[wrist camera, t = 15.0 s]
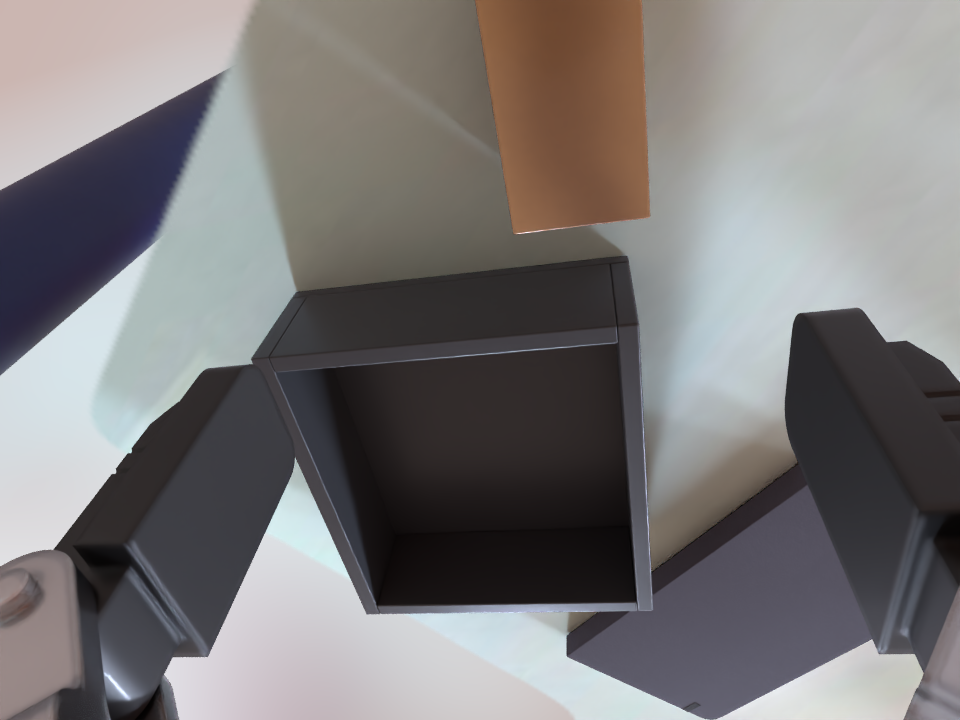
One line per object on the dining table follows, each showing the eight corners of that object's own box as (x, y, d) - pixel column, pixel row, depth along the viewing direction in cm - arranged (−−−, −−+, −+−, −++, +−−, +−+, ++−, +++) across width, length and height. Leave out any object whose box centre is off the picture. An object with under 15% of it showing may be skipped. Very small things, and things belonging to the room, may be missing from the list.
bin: (388, 535, 41) (366, 614, 37) (295, 291, 32) (250, 359, 27) (643, 526, 39) (653, 611, 34) (627, 254, 29) (639, 323, 24)
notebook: (807, 456, 34) (566, 635, 46) (816, 478, 33) (566, 657, 44) (974, 556, 37) (707, 701, 49) (988, 580, 36) (711, 723, 47)
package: (522, 172, 27) (513, 235, 22) (489, -53, 23) (468, -37, 18) (634, 157, 26) (650, 218, 21) (623, -81, 22) (639, -72, 17)
